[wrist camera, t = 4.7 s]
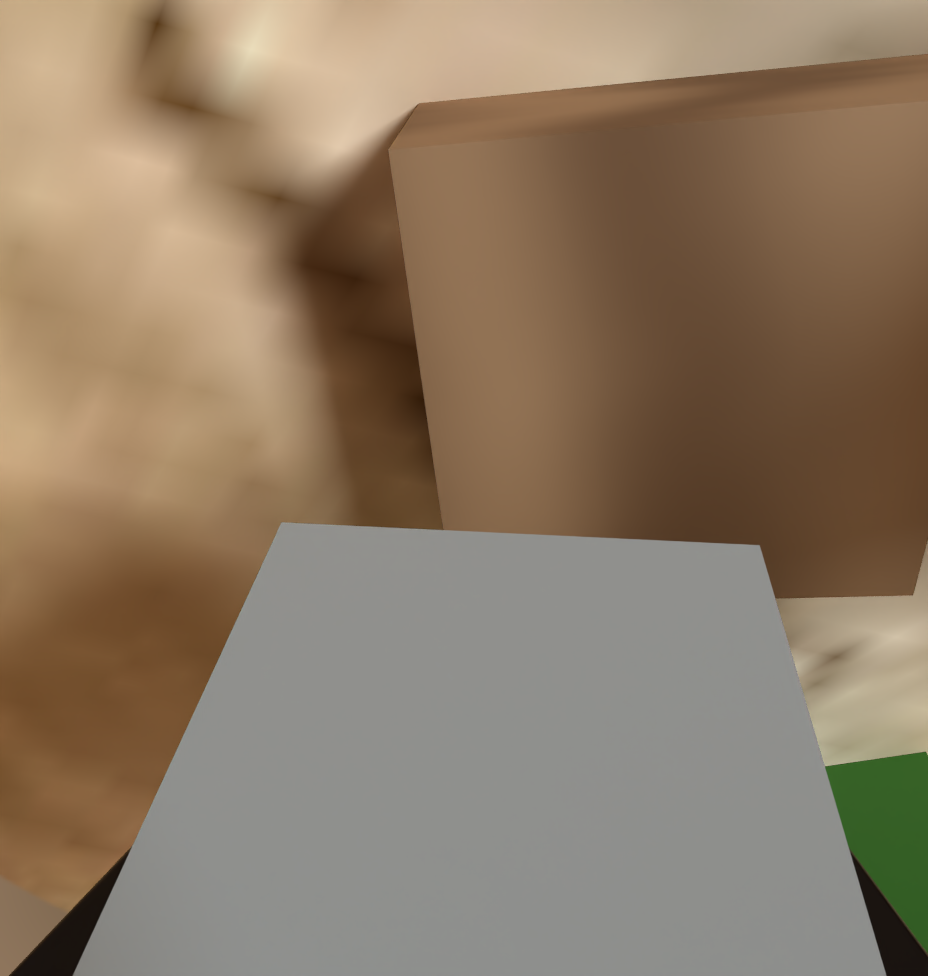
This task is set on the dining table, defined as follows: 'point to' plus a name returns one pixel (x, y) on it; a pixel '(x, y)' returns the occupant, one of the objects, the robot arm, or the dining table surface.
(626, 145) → the walnut block
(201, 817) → the slate cube
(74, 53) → the dining table surface
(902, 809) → the hardback book
